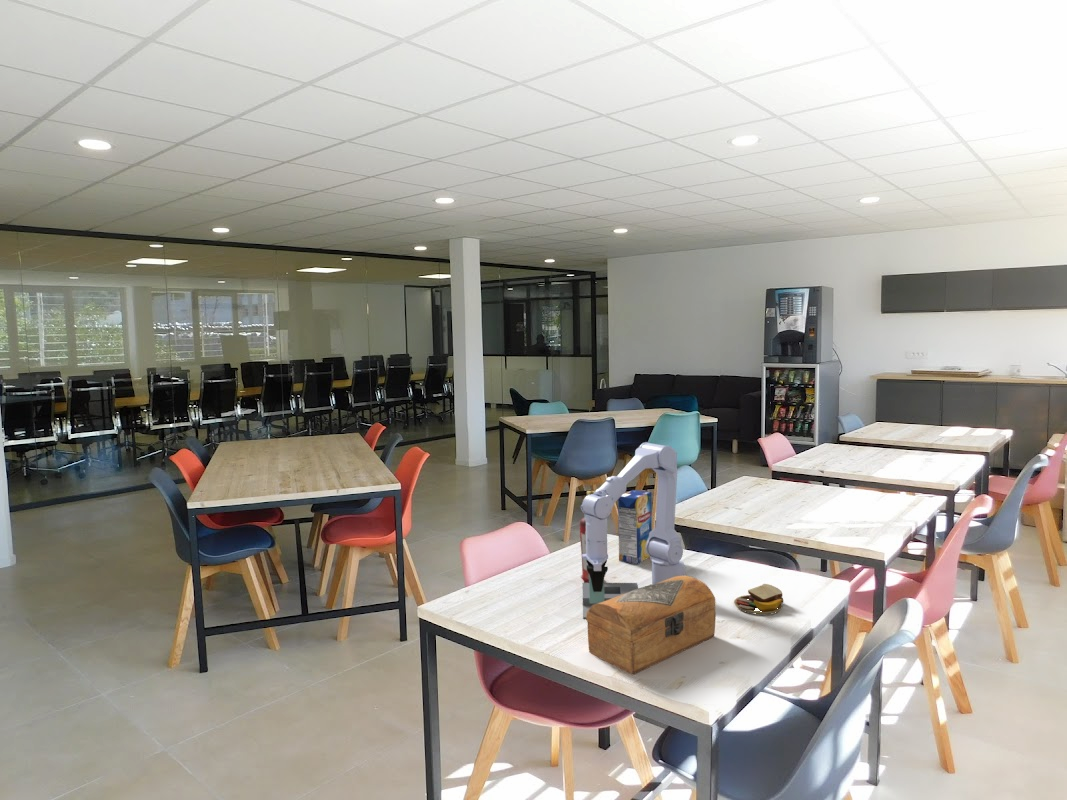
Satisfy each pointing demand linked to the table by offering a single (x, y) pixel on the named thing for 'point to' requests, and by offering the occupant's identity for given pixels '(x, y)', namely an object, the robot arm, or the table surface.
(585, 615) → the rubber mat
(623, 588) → the pocket board
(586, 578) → the liquor
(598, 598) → the teal block
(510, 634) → the table surface
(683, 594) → the wooden box
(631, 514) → the beverage box
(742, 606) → the toy sandwich meal
